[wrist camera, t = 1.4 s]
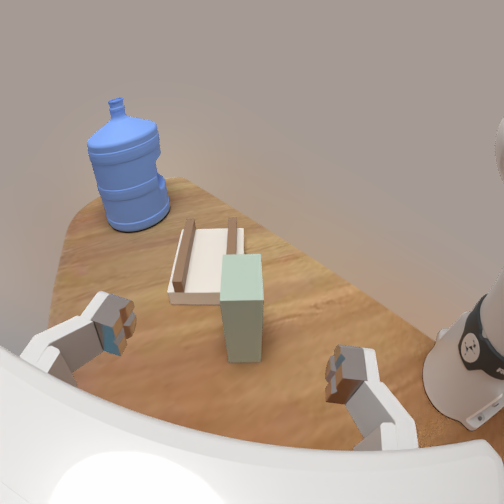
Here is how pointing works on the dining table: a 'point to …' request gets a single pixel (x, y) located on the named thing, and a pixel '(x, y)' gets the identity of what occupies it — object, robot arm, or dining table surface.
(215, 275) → the cleat board
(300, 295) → the dining table surface
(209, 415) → the dining table surface
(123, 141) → the water jug
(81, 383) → the dining table surface
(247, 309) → the sage cabinet
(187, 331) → the dining table surface
